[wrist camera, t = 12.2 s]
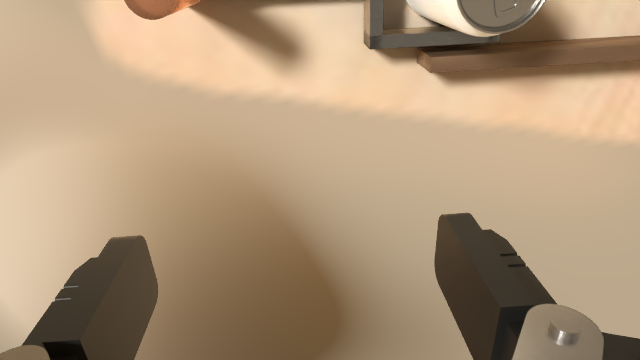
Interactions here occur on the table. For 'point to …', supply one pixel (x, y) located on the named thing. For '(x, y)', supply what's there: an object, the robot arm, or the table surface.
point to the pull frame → (158, 3)
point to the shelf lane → (529, 54)
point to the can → (478, 14)
